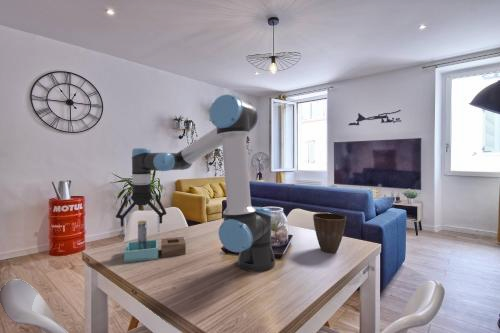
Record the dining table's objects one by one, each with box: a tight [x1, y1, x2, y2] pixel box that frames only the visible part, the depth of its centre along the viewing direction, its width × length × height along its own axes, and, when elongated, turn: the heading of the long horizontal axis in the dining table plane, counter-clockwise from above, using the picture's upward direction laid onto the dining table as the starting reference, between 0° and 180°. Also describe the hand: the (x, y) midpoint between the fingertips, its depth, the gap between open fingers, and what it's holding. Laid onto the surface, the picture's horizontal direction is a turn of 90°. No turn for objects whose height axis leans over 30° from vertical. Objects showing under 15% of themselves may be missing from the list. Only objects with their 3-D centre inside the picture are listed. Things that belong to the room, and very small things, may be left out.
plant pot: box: [312, 212, 347, 253], centre depth 121 cm, size 15×15×16 cm
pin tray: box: [123, 238, 159, 264], centre depth 114 cm, size 13×13×4 cm
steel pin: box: [137, 220, 148, 250], centre depth 114 cm, size 4×4×14 cm
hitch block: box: [160, 236, 187, 258], centre depth 118 cm, size 10×10×5 cm
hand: (142, 232), depth 113 cm, fingers open, 13 cm apart
